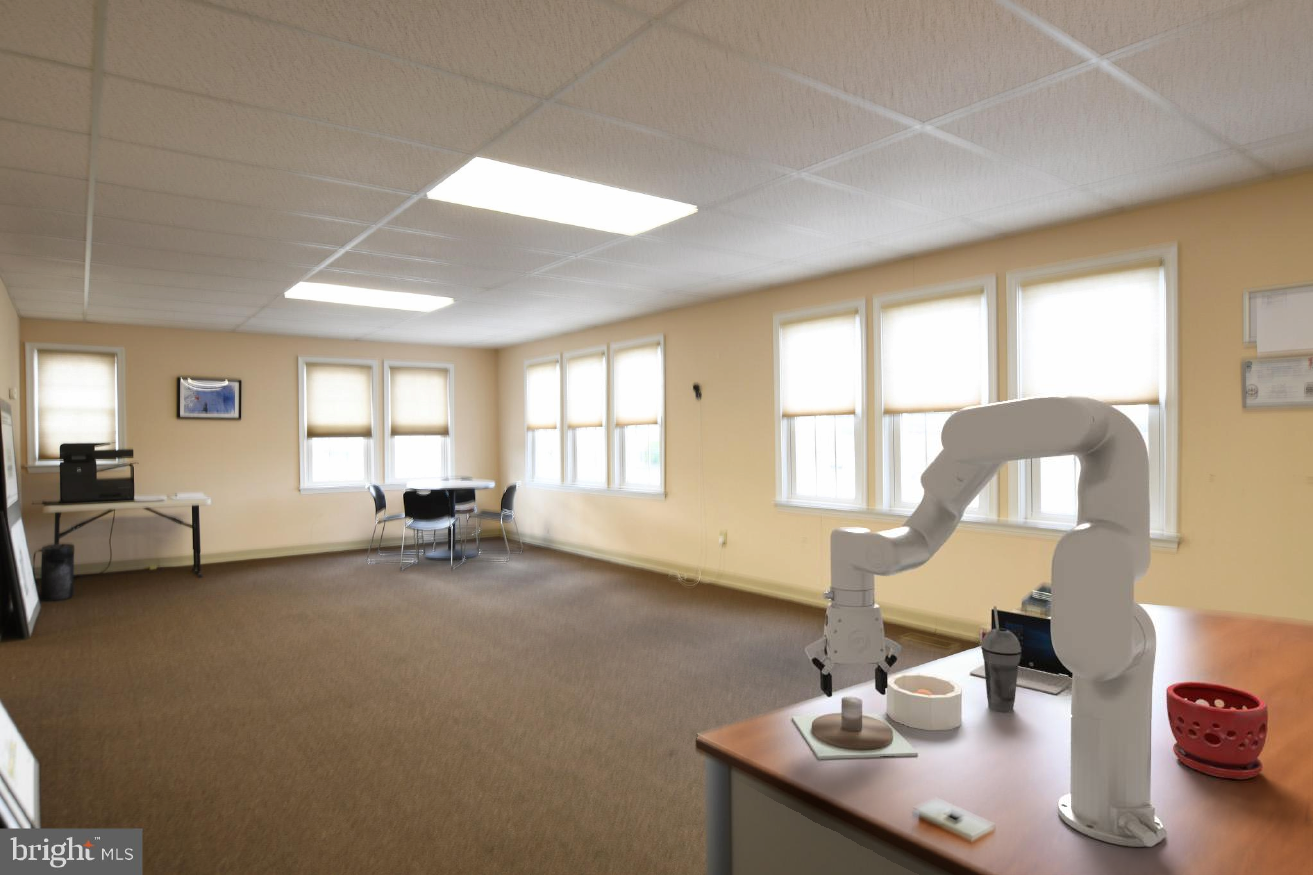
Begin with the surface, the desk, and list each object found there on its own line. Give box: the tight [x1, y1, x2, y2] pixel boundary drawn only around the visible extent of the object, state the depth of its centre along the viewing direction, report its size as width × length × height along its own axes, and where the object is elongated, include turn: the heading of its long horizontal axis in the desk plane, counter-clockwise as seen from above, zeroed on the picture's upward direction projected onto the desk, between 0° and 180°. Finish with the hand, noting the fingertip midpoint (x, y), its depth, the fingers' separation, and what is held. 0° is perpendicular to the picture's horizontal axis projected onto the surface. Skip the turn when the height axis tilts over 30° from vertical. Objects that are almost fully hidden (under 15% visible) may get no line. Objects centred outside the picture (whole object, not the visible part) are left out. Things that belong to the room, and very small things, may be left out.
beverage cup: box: [980, 605, 1022, 713], centre depth 145 cm, size 7×7×20 cm
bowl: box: [886, 672, 963, 731], centre depth 141 cm, size 13×13×6 cm
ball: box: [915, 690, 932, 695], centre depth 141 cm, size 4×4×4 cm
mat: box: [791, 713, 919, 760], centre depth 132 cm, size 17×17×1 cm
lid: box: [812, 696, 893, 751], centre depth 132 cm, size 14×14×6 cm
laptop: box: [969, 608, 1073, 695], centre depth 163 cm, size 18×12×13 cm
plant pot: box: [1165, 681, 1269, 781], centre depth 120 cm, size 13×13×12 cm
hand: (854, 693), depth 131 cm, fingers open, 9 cm apart
